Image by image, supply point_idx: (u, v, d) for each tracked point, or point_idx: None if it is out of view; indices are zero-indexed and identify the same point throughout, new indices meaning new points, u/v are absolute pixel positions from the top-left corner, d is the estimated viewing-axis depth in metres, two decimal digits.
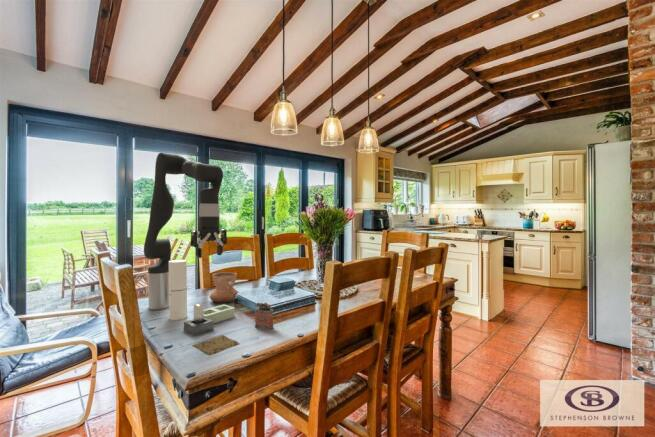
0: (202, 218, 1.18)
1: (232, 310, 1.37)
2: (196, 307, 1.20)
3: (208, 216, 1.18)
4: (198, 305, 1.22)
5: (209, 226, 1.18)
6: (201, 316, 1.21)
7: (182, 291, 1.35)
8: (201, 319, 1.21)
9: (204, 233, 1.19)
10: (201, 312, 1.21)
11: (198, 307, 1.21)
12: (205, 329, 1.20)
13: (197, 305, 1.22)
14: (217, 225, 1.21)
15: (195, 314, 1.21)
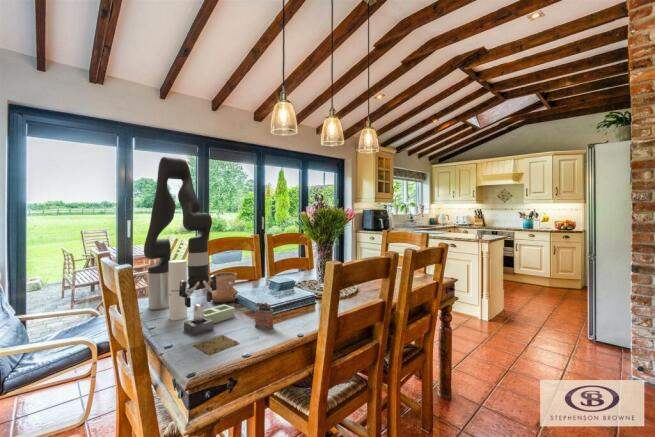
0: (191, 267, 1.18)
1: (232, 310, 1.37)
2: (196, 307, 1.20)
3: (197, 265, 1.18)
4: (198, 305, 1.22)
5: (198, 275, 1.18)
6: (201, 316, 1.21)
7: None
8: (201, 319, 1.21)
9: (192, 282, 1.19)
10: (201, 312, 1.21)
11: (198, 307, 1.21)
12: (205, 329, 1.20)
13: (197, 305, 1.22)
14: (206, 273, 1.21)
15: (195, 314, 1.21)
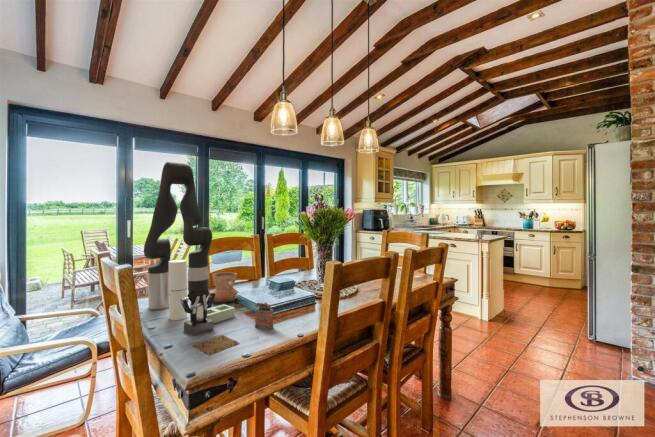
0: (191, 282, 1.18)
1: (232, 310, 1.37)
2: None
3: (197, 280, 1.18)
4: (198, 305, 1.22)
5: (198, 290, 1.19)
6: (201, 316, 1.21)
7: (182, 291, 1.35)
8: (201, 319, 1.21)
9: (192, 296, 1.19)
10: (201, 312, 1.21)
11: (198, 307, 1.21)
12: (205, 329, 1.20)
13: (198, 305, 1.22)
14: (206, 288, 1.21)
15: None
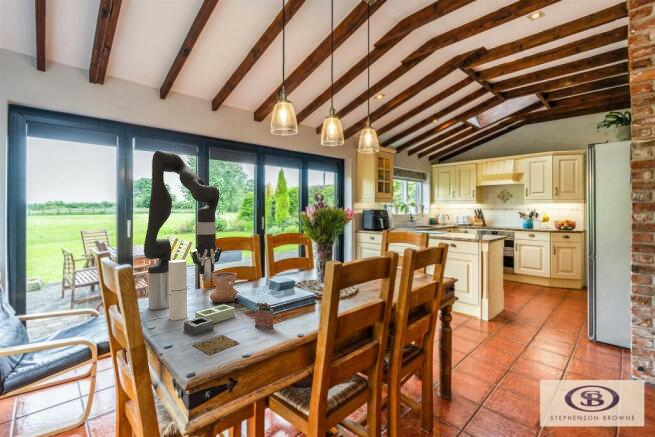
0: (199, 236, 1.27)
1: (232, 310, 1.37)
2: None
3: (205, 234, 1.27)
4: (206, 258, 1.30)
5: (206, 243, 1.27)
6: (209, 268, 1.30)
7: (182, 291, 1.35)
8: (209, 271, 1.30)
9: (201, 249, 1.28)
10: (209, 265, 1.30)
11: (206, 260, 1.29)
12: (205, 329, 1.20)
13: (206, 258, 1.31)
14: (213, 242, 1.29)
15: None
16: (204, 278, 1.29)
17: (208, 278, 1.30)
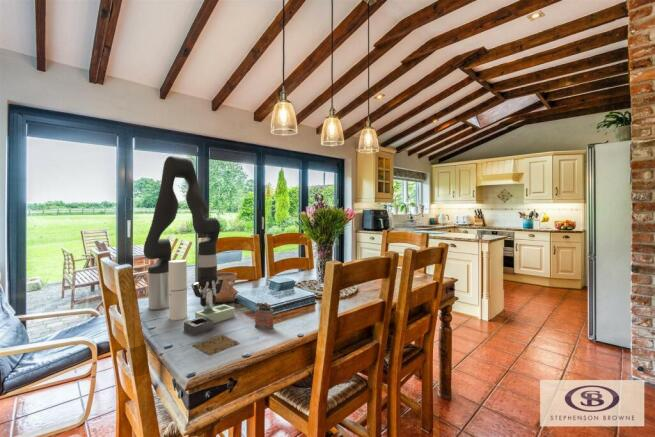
0: (201, 269, 1.28)
1: (232, 310, 1.37)
2: (206, 292, 1.30)
3: (206, 267, 1.28)
4: (207, 290, 1.31)
5: (207, 276, 1.28)
6: (210, 300, 1.31)
7: (182, 291, 1.35)
8: (210, 303, 1.31)
9: (202, 282, 1.29)
10: (210, 296, 1.31)
11: (207, 292, 1.30)
12: (205, 329, 1.20)
13: (207, 290, 1.32)
14: (215, 274, 1.30)
15: None
16: (206, 310, 1.30)
17: (210, 310, 1.31)
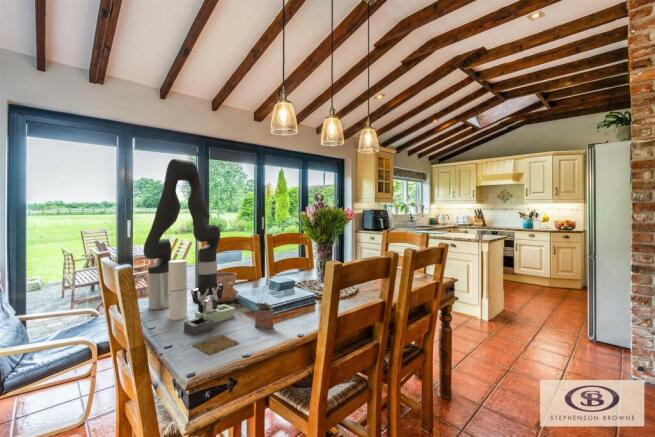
0: (201, 276, 1.28)
1: (232, 310, 1.37)
2: (206, 302, 1.30)
3: (206, 274, 1.28)
4: (207, 300, 1.31)
5: (207, 283, 1.28)
6: (210, 311, 1.31)
7: (182, 291, 1.35)
8: None
9: (202, 289, 1.29)
10: (210, 307, 1.31)
11: (207, 302, 1.30)
12: (205, 329, 1.20)
13: (207, 300, 1.32)
14: (215, 281, 1.31)
15: (205, 309, 1.30)
16: None
17: None
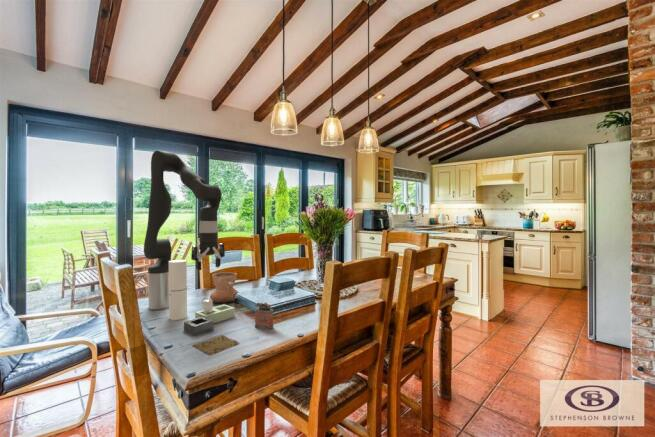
0: (202, 234, 1.30)
1: (232, 310, 1.37)
2: (206, 302, 1.30)
3: (207, 232, 1.30)
4: (207, 300, 1.31)
5: (208, 241, 1.30)
6: (210, 311, 1.31)
7: (182, 291, 1.35)
8: None
9: (203, 247, 1.31)
10: (210, 307, 1.31)
11: (207, 302, 1.30)
12: (205, 329, 1.20)
13: (207, 300, 1.32)
14: (215, 240, 1.33)
15: (205, 309, 1.30)
16: None
17: None
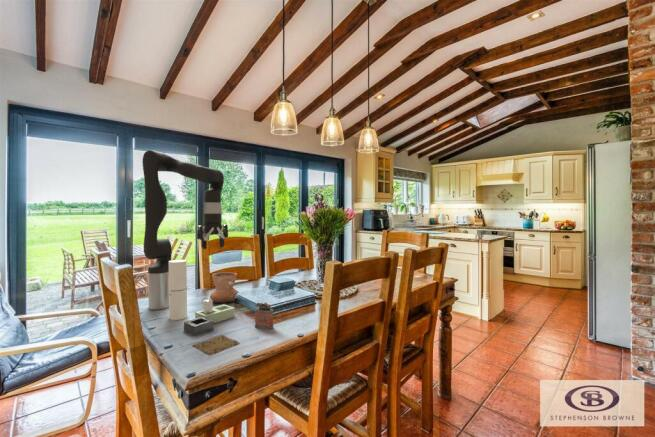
0: (207, 215, 1.38)
1: (232, 310, 1.37)
2: (206, 302, 1.30)
3: (212, 213, 1.38)
4: (207, 300, 1.31)
5: (213, 222, 1.38)
6: (210, 311, 1.31)
7: (182, 291, 1.35)
8: None
9: (208, 227, 1.39)
10: (210, 307, 1.31)
11: (207, 302, 1.30)
12: (205, 329, 1.20)
13: (207, 300, 1.32)
14: (219, 221, 1.41)
15: (205, 309, 1.30)
16: None
17: None
